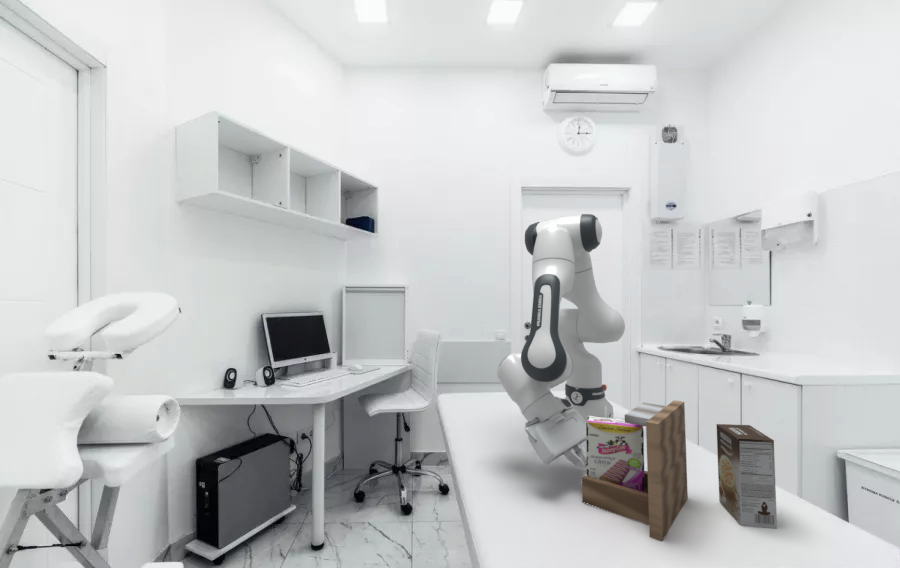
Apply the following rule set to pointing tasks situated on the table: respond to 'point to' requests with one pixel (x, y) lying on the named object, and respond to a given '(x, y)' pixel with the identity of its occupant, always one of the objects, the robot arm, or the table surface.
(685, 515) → the table surface
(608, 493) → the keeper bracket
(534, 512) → the table surface
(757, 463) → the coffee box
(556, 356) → the robot arm
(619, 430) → the candy bar box
